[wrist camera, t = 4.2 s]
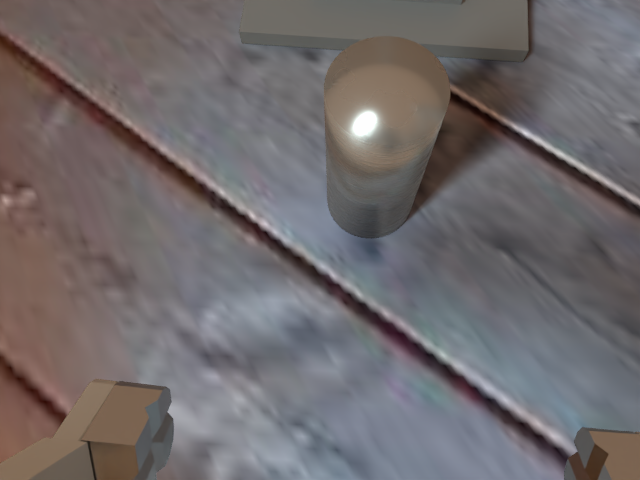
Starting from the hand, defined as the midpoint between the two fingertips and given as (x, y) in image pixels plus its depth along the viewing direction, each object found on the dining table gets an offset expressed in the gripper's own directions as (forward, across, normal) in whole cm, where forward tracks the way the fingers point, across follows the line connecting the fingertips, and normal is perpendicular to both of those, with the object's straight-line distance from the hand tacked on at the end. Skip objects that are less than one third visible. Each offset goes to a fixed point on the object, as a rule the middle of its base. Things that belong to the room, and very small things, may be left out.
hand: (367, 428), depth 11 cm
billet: (+19, 0, -3) cm, 19 cm away
